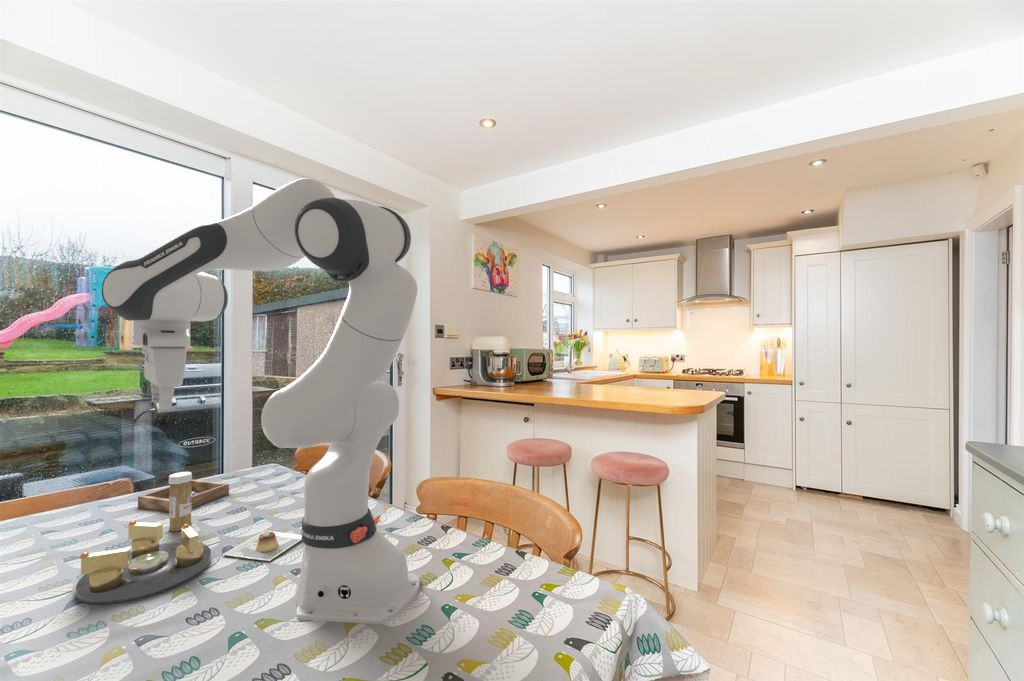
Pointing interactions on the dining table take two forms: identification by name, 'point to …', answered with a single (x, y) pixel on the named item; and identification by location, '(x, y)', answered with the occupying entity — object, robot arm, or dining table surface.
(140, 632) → the dining table surface
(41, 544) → the dining table surface
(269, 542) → the dessert
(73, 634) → the dining table surface
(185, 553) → the knob near
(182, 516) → the sprinkles bottle
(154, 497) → the wooden tray
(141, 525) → the knob far
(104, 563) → the knob left
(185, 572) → the plate
